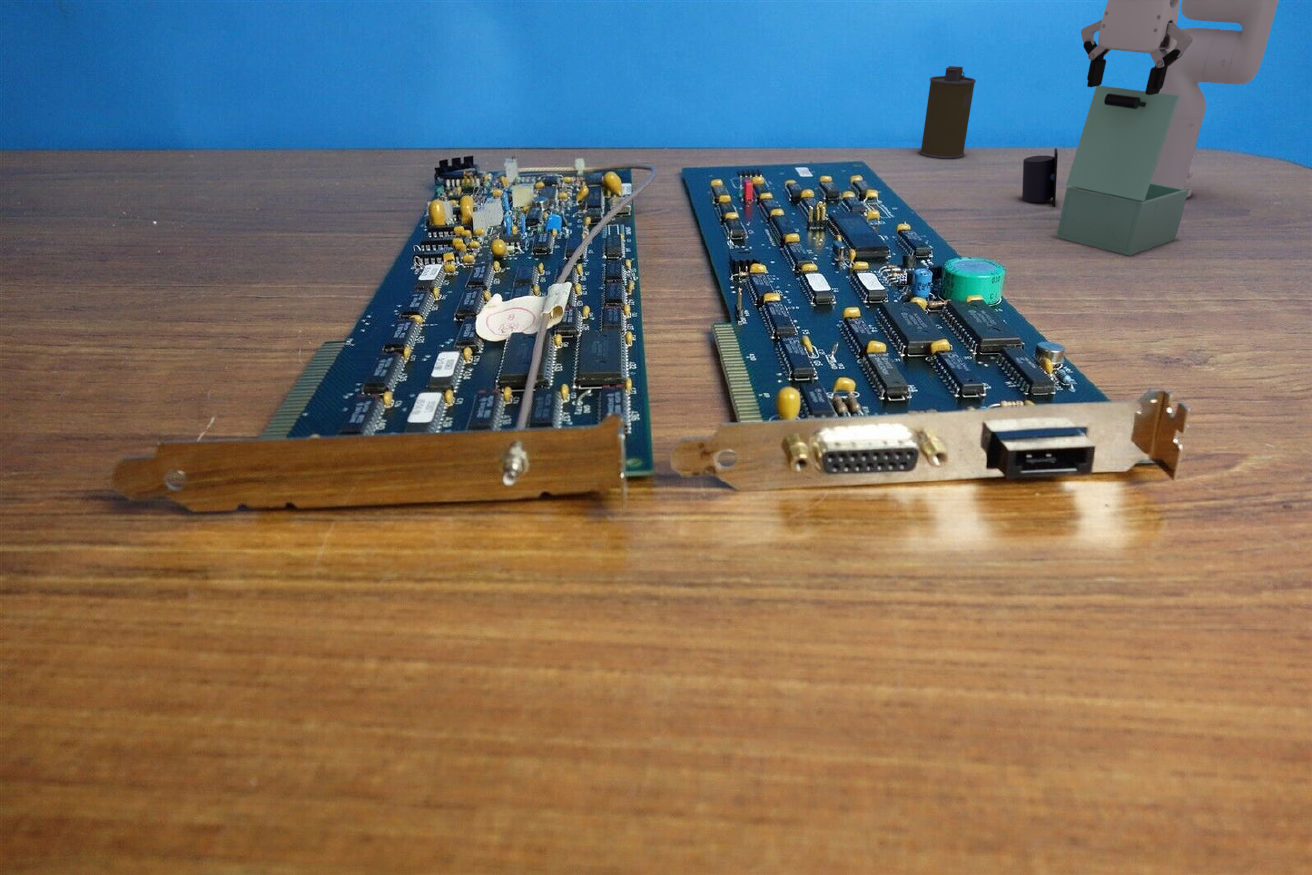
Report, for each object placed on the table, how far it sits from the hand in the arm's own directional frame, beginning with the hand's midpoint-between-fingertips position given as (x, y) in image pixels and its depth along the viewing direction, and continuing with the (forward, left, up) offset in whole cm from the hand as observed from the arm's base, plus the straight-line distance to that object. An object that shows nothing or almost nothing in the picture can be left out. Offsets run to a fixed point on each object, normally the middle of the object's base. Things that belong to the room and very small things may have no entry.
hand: (1122, 90), depth 148 cm
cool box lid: (-4, 0, -9) cm, 9 cm away
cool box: (-9, 0, -26) cm, 28 cm away
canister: (-43, -63, -26) cm, 81 cm away
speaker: (-21, -23, -26) cm, 41 cm away
